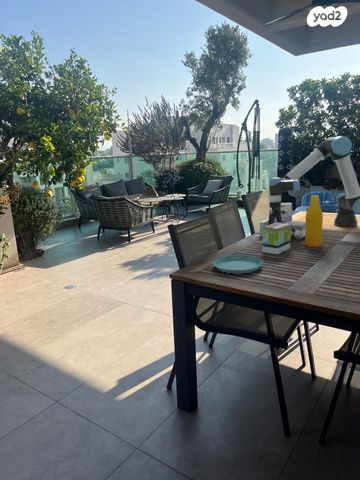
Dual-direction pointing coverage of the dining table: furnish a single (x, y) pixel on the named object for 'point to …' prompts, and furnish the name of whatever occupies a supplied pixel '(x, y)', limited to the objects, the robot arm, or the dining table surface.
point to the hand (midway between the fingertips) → (275, 233)
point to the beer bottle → (314, 223)
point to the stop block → (262, 224)
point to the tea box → (276, 238)
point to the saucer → (238, 264)
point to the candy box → (285, 212)
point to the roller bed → (298, 233)
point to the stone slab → (297, 224)
